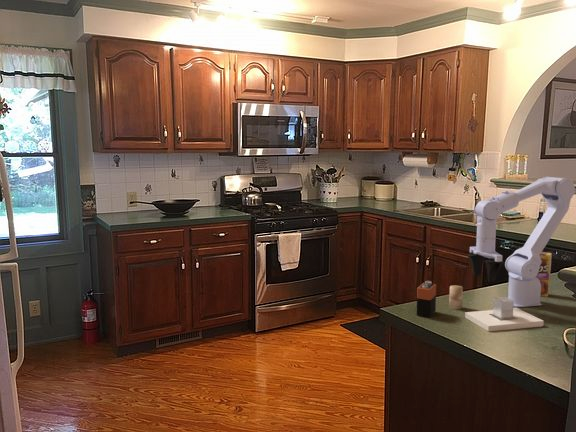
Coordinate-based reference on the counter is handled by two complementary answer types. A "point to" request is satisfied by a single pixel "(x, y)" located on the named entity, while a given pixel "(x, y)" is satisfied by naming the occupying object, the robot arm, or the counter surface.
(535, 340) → the counter surface
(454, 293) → the round dowel
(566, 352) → the counter surface
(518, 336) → the counter surface
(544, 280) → the candy box
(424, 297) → the battery
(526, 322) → the bore board
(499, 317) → the square peg
